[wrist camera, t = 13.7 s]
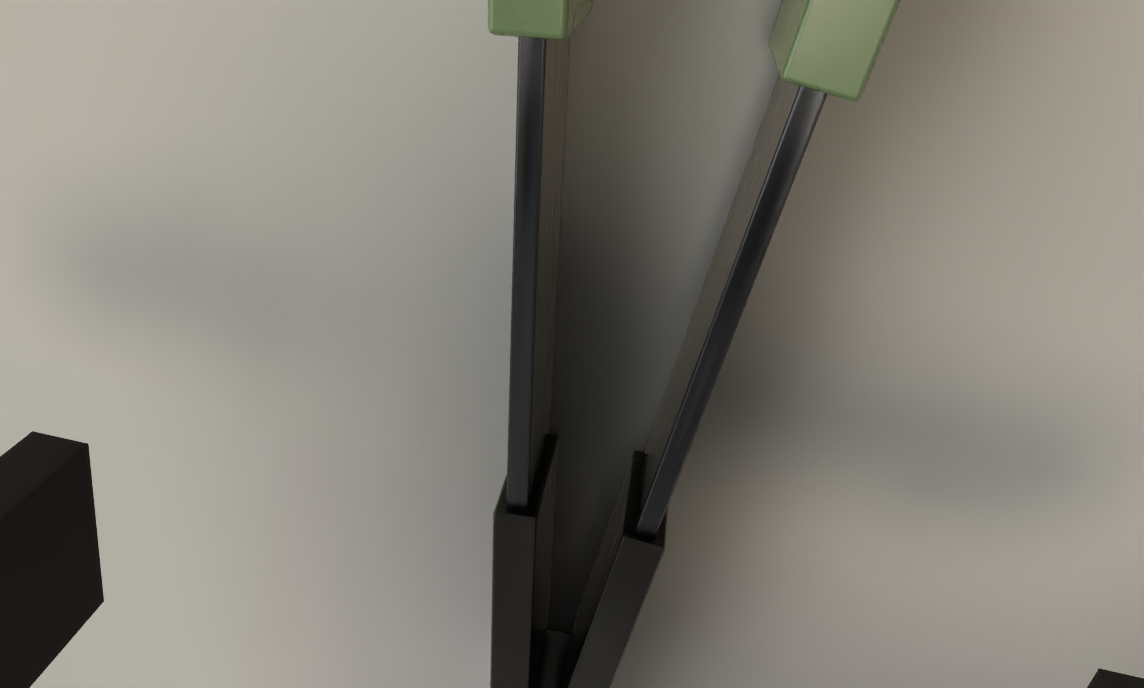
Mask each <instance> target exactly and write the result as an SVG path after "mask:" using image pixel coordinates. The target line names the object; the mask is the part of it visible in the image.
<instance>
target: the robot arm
mask: <svg viewBox="0 0 1144 688" xmlns="http://www.w3.org/2000/svg"><path fill="white" fill-rule="evenodd" d="M103 602H104V598H103V588H102V578H101V568H100V558H99V548H98V538H97V528H96V517H95V507H94V497H93V487H92V477H91V467H90V457H89V447H88V444H87V443H82V442H78V441H73V440H69V439H64V438H60V437H55V436H51V435H46V434H42V433H37V432H33V431H32V432H31V433H30V434H29V435H27V436H26V437H25V438H23V439H22V440H21V441H20V442H18V443H17V444H16V445H15V446H13V447H12V448H11V449H10V450H8V451H7V452H6V453H4V454H3V455H2V456H1V457H0V688H30V686H31V685H32V684H33V683H34V682H35V681H36V679H37V678H38V677H39V676H40V675H41V674H42V672H43V671H44V670H45V669H46V668H47V667H48V665H49V664H50V663H51V662H52V661H53V660H54V659H55V657H56V656H57V655H58V654H59V653H60V652H61V650H62V649H63V648H64V647H65V646H66V645H67V643H68V642H69V641H70V640H71V639H72V638H73V636H74V635H75V634H76V633H77V632H78V631H79V629H80V628H81V627H82V626H83V625H84V624H85V622H86V621H87V620H88V619H89V618H90V617H91V615H92V614H93V613H94V612H95V611H96V610H97V608H98V607H99V606H100V605H101V604H102V603H103ZM1087 688H1144V679H1143V678H1139V677H1134V676H1130V675H1125V674H1121V673H1116V672H1112V671H1107V670H1103V669H1098V671H1097V673H1096V674H1095V676H1094V677H1093V679H1092V681H1091V682H1090V684H1089V686H1088V687H1087Z"/></svg>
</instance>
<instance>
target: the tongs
mask: <svg viewBox="0 0 1144 688" xmlns="http://www.w3.org/2000/svg"><path fill="white" fill-rule="evenodd" d="M899 2H900V0H783V1H782V4H781V7H780V10H779V13H778V16H777V19H776V22H775V25H774V27H773V30H772V33H771V36H770V39H769V45H770V47H771V50H772V53H773V56H774V59H775V61H776V64H777V67H778V70H779V76H778V78H777V81H776V84H775V87H774V89H773V92H772V95H771V98H770V101H769V103H768V106H767V109H766V112H765V115H764V117H763V120H762V123H761V126H760V129H759V131H758V134H757V137H756V140H755V143H754V145H753V148H752V151H751V154H750V157H749V159H748V162H747V165H746V168H745V170H744V173H743V176H742V179H741V182H740V184H739V187H738V190H737V193H736V196H735V198H734V201H733V204H732V207H731V210H730V212H729V215H728V218H727V221H726V224H725V226H724V229H723V232H722V235H721V238H720V240H719V243H718V246H717V249H716V252H715V254H714V257H713V260H712V263H711V265H710V268H709V271H708V274H707V277H706V279H705V282H704V285H703V288H702V291H701V293H700V296H699V299H698V302H697V305H696V307H695V310H694V313H693V316H692V319H691V321H690V324H689V327H688V330H687V333H686V335H685V338H684V341H683V344H682V346H681V349H680V352H679V355H678V358H677V360H676V363H675V366H674V369H673V372H672V374H671V377H670V380H669V383H668V386H667V388H666V391H665V394H664V397H663V400H662V402H661V405H660V408H659V411H658V414H657V416H656V419H655V422H654V425H653V428H652V430H651V433H650V436H649V439H648V441H647V444H646V447H645V450H644V453H642V452H639V451H634V452H633V455H632V457H631V460H630V463H629V466H628V469H627V472H626V474H625V477H624V480H623V483H622V486H621V489H620V492H619V494H618V497H617V500H616V503H615V506H614V509H613V511H612V514H611V517H610V520H609V523H608V526H607V529H606V531H605V534H604V537H603V540H602V543H601V546H600V549H599V551H598V554H597V557H596V560H595V563H594V566H593V568H592V571H591V574H590V577H589V580H588V583H587V586H586V588H585V591H584V594H583V597H582V600H581V603H580V605H579V608H578V611H577V614H576V617H575V620H574V626H573V631H572V636H571V635H568V634H565V633H562V632H558V631H550V630H545V629H546V624H547V619H548V615H549V600H550V583H551V566H552V548H553V531H554V513H555V496H556V479H557V461H558V444H559V437H558V435H555V434H549V433H550V414H551V395H552V375H553V356H554V337H555V317H556V298H557V278H558V259H559V240H560V220H561V201H562V181H563V162H564V143H565V123H566V104H567V84H568V65H569V46H570V33H571V32H572V31H573V30H574V28H575V27H576V26H577V25H578V24H579V23H580V22H581V21H582V19H583V18H584V17H585V16H586V15H587V14H588V13H589V12H590V10H591V8H592V0H488V28H489V31H490V33H492V34H494V35H503V36H515V37H519V42H518V80H517V118H516V156H515V194H514V233H513V271H512V309H511V347H510V386H509V424H508V462H507V475H506V478H505V481H504V484H503V487H502V490H501V493H500V496H499V499H498V502H497V505H496V508H495V511H494V514H493V569H492V625H491V681H490V688H610V686H611V683H612V681H613V678H614V676H615V673H616V671H617V668H618V666H619V663H620V661H621V658H622V656H623V653H624V651H625V648H626V646H627V643H628V641H629V638H630V636H631V633H632V631H633V628H634V626H635V623H636V621H637V618H638V616H639V613H640V610H641V608H642V605H643V603H644V600H645V598H646V595H647V593H648V590H649V588H650V585H651V583H652V580H653V578H654V575H655V573H656V570H657V568H658V565H659V563H660V560H661V558H662V555H663V553H664V550H665V539H666V524H667V509H668V504H669V501H670V499H671V496H672V493H673V491H674V488H675V486H676V483H677V481H678V478H679V475H680V473H681V470H682V468H683V465H684V463H685V460H686V457H687V455H688V452H689V450H690V447H691V444H692V442H693V439H694V437H695V434H696V432H697V429H698V426H699V424H700V421H701V419H702V416H703V414H704V411H705V408H706V406H707V403H708V401H709V398H710V395H711V393H712V390H713V388H714V385H715V383H716V380H717V377H718V375H719V372H720V370H721V367H722V365H723V362H724V359H725V357H726V354H727V352H728V349H729V346H730V344H731V341H732V339H733V336H734V334H735V331H736V328H737V326H738V323H739V321H740V318H741V316H742V313H743V310H744V308H745V305H746V303H747V300H748V298H749V295H750V292H751V290H752V287H753V285H754V282H755V279H756V277H757V274H758V272H759V269H760V267H761V264H762V261H763V259H764V256H765V254H766V251H767V249H768V246H769V243H770V241H771V238H772V236H773V233H774V230H775V228H776V225H777V223H778V220H779V218H780V215H781V212H782V210H783V207H784V205H785V202H786V200H787V197H788V194H789V192H790V189H791V187H792V184H793V181H794V179H795V176H796V174H797V171H798V169H799V166H800V163H801V161H802V158H803V156H804V153H805V151H806V148H807V145H808V143H809V140H810V138H811V135H812V132H813V130H814V127H815V125H816V122H817V120H818V117H819V114H820V112H821V109H822V107H823V104H824V102H825V99H826V96H827V94H830V95H834V96H837V97H840V98H844V99H847V100H851V101H857V100H858V99H859V98H860V97H861V95H862V93H863V90H864V88H865V85H866V83H867V80H868V78H869V75H870V73H871V71H872V68H873V66H874V63H875V61H876V58H877V56H878V53H879V51H880V48H881V46H882V43H883V41H884V39H885V36H886V34H887V31H888V29H889V26H890V24H891V21H892V19H893V16H894V14H895V11H896V9H897V7H898V4H899Z"/></svg>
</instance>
